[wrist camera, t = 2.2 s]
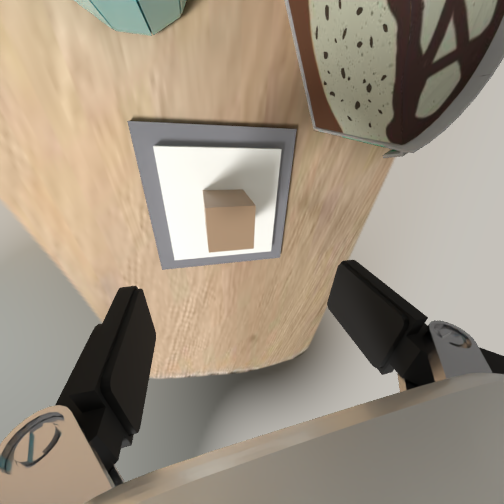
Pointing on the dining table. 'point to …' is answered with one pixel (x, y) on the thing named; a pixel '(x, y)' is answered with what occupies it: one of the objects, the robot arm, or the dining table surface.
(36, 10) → the dining table surface
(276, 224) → the mat
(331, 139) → the dining table surface
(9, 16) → the dining table surface
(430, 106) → the food container
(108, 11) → the bowl
